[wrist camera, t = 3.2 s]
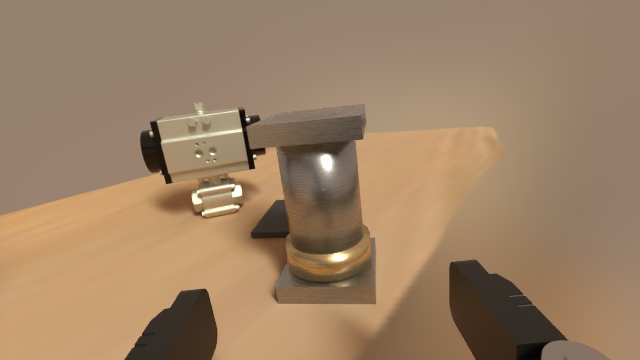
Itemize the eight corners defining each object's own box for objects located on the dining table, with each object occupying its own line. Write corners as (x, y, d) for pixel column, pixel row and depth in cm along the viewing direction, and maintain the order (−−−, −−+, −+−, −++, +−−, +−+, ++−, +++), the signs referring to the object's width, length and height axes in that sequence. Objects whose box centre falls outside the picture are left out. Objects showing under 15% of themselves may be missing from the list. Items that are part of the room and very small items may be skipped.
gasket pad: (252, 237, 30) (251, 232, 30) (276, 204, 38) (276, 200, 37) (340, 234, 29) (339, 229, 28) (347, 200, 36) (347, 196, 36)
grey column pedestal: (278, 303, 21) (246, 126, 18) (298, 254, 26) (277, 113, 23) (376, 303, 20) (360, 115, 16) (376, 252, 25) (364, 104, 22)
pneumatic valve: (170, 214, 39) (142, 109, 35) (270, 195, 41) (253, 95, 38) (161, 233, 33) (127, 112, 30) (276, 210, 36) (257, 95, 32)
